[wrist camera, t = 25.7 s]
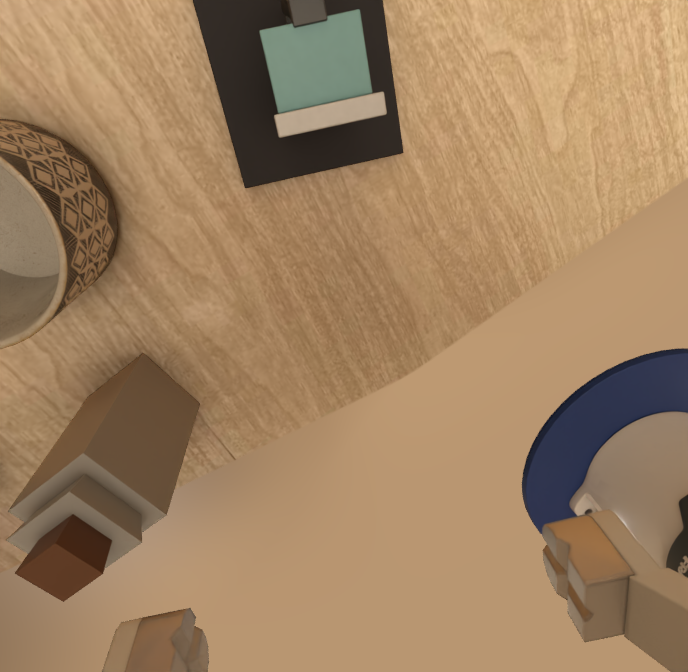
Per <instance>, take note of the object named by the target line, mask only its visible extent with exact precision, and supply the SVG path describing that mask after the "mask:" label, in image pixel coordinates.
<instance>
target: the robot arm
mask: <svg viewBox="0 0 688 672" xmlns="http://www.w3.org/2000/svg"><path fill="white" fill-rule="evenodd" d="M569 506H570V508H571V509H572V510H573V511H574V513H575V514H576V515H577V516H575V517H571V518H567V519H563V520H559V521H555V522H551V523H547V524H544V526H543V528H542V536H543V538H544V540H545V541H546V543H547V545H546V546H545V548H544V549H543V560H544V564H545V568H546V572H547V574H548V577H549V579H550V581H551V584H552V585H553V587H554V589H555V591H556V593H557V594H558V595H560V596H561V597H563V598H565V599H566V600H568V614H569V616H570V618H571V619H572V621H573V623H574V625H575V626H576V628H577V630H578V632H579V633H580V635H581V637H582V639H583V640H584V642H589V641H593V640H599V639H604V638H608V637H613V636H618V635H623V634H625V635H624V636H625V637H626V638H627V639H628V640H630V641H631V642H632V643H634V644H635V645H636V646H638V647H639V648H640V649H641V650H643V651H644V652H645V653H647V654H648V655H649V656H651V657H652V658H654V659H655V660H656V661H657V662H659V663H660V664H661V665H663V666H664V667H665V668H667V669H668V670H669V671H671V672H688V413H686V412H678V411H671V412H662V413H657V414H653V415H649V416H646V417H644V418H641V419H639V420H637V421H634V422H632V423H631V424H629V425H627V426H625V427H624V428H622V429H621V430H619V431H618V432H617V433H615V434H614V435H613V436H612V437H611V438H610V439H609V440H607V441H606V443H605V444H604V445H603V446H602V447H601V448H600V449H599V451H598V452H597V453H596V455H595V456H594V458H593V460H592V462H591V464H590V466H589V468H588V471H587V474H586V477H585V480H584V482H583V484H582V485H581V487H580V488H579V489H578V490H577V491H576V493H575V494H574V495H573V497H572V498H571V500H570V502H569ZM195 619H196V617H195V615H194V613H193V612H192V610H191V608H188V609H183V610H178V611H173V612H168V613H163V614H158V615H153V616H148V617H143V618H139V619H135V620H130V621H125V622H122V623H121V624H120V625H119V627H118V628H117V629H116V631H115V634H114V637H113V640H112V643H111V646H110V649H109V652H108V655H107V658H106V661H105V664H104V667H103V670H102V672H208V664H209V658H208V657H209V655H208V644H207V640H206V636H205V635H204V632H203V631H202V629H200V628H198V627H196V626H194V624H195Z"/></svg>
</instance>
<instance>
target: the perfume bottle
mask: <svg viewBox="0 0 688 672" xmlns="http://www.w3.org/2000/svg"><path fill="white" fill-rule="evenodd" d="M199 405H200V404H199V403H198V402H197V401H196V400H195V399H194V398H193V397H192V396H191V395H189V394H188V393H187V392H186V391H185V390H184V389H183V388H182V387H181V386H179V385H178V384H177V383H176V382H175V381H174V380H173V379H172V378H171V377H169V376H168V375H167V374H166V373H165V372H164V371H163V370H162V369H160V368H159V367H158V366H157V365H156V364H155V363H154V362H153V361H152V360H150V359H149V358H148V357H147V356H146V355H145V354H144V353H142V354H141V355H140V356H139V357H137V358H136V359H135V360H134V361H132V362H131V363H130V364H129V365H128V366H126V367H125V368H124V369H123V370H121V371H120V372H119V373H118V374H116V375H115V376H114V377H113V378H111V379H110V380H109V381H108V382H106V383H105V384H104V385H103V386H101V387H100V388H99V389H98V390H96V391H95V392H94V393H93V394H91V395H90V396H89V397H88V398H87V399H86V401H85V402H84V403H83V405H82V406H81V408H80V409H79V411H78V412H77V413H76V415H75V416H74V418H73V419H72V421H71V422H70V423H69V425H68V426H67V428H66V429H65V431H64V432H63V433H62V435H61V436H60V438H59V439H58V441H57V442H56V443H55V445H54V446H53V448H52V449H51V451H50V452H49V453H48V455H47V456H46V458H45V459H44V461H43V462H42V463H41V465H40V466H39V468H38V469H37V471H36V472H35V473H34V475H33V476H32V478H31V479H30V481H29V482H28V483H27V485H26V486H25V488H24V489H23V491H22V492H21V493H20V495H19V496H18V498H17V499H16V501H15V502H14V503H13V505H12V506H11V508H10V509H9V511H8V512H9V513H11V514H13V515H14V516H16V517H17V518H19V519H20V520H22V521H24V523H23V524H22V525H21V526H20V527H19V528H18V529H17V530H16V531H15V532H14V533H13V534H12V535H11V536H10V537H9V538H8V539H7V540H6V541H8V542H9V543H11V544H13V545H14V546H16V547H18V548H19V549H21V550H22V551H24V552H26V553H27V554H28V555H27V557H26V558H25V559H24V561H23V562H22V564H21V565H20V567H19V568H18V569H17V571H16V572H15V574H17V575H18V576H20V577H22V578H24V579H25V580H27V581H29V582H31V583H32V584H34V585H36V586H38V587H39V588H41V589H43V590H44V591H46V592H48V593H49V594H51V595H53V596H54V597H56V598H58V599H60V600H61V601H63V602H64V601H65V600H66V599H68V598H69V597H71V596H72V595H74V594H75V593H76V592H78V591H79V590H81V589H82V588H83V587H85V586H86V585H88V584H89V583H91V582H92V581H93V580H95V579H96V578H97V577H99V576H100V575H102V574H103V571H104V569H105V568H106V567H108V566H109V565H111V564H112V563H113V562H115V561H116V560H118V559H119V558H120V557H122V556H123V555H125V554H126V553H128V552H129V551H130V550H132V549H133V548H135V547H136V546H137V545H139V544H140V543H142V532H144V531H145V530H146V529H148V528H149V527H150V526H152V525H153V524H155V523H156V522H158V521H159V520H160V519H162V518H163V517H165V516H166V515H167V512H168V508H169V505H170V502H171V498H172V495H173V492H174V488H175V485H176V482H177V478H178V475H179V472H180V468H181V465H182V462H183V458H184V455H185V452H186V448H187V445H188V442H189V438H190V435H191V432H192V428H193V425H194V422H195V418H196V415H197V412H198V408H199Z"/></svg>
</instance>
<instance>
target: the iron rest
mask: <svg viewBox="0 0 688 672" xmlns="http://www.w3.org/2000/svg"><path fill="white" fill-rule="evenodd" d="M324 2H325V8H326V13H327V16H329V15H334V14H338V13H343V12H348V11H352V10H357V9H359V10H360V14H361V21H362V27H363V34H364V40H365V47H366V54H367V60H368V67H369V73H370V80H371V86H372V94H373V93H377V92H384V97H385V104H386V111H387V113H386V115H382V116H378V117H373V118H369V119H364V120H359V121H355V122H350V123H346V124H341V125H336V126H332V127H327V128H323V129H318V130H314V131H309V132H304V133H300V134H295V135H291V136H286V137H281V138H280V137H279V136H278V132H277V128H276V123H275V119H274V115H276V114H279V113H278V110H277V106H276V101H275V97H274V93H273V88H272V84H271V80H270V75H269V71H268V67H267V62H266V58H265V54H264V49H263V45H262V41H261V37H260V30H264V29H268V28H273V27H278V26H282V25H286V21H285V16H284V14H283V12H282V8H281V0H193V3H194V6H195V10H196V13H197V17H198V21H199V24H200V28H201V31H202V35H203V39H204V42H205V46H206V49H207V53H208V56H209V60H210V64H211V67H212V71H213V74H214V78H215V82H216V85H217V89H218V92H219V96H220V99H221V103H222V107H223V110H224V114H225V117H226V121H227V125H228V128H229V132H230V135H231V139H232V143H233V146H234V150H235V153H236V157H237V160H238V164H239V168H240V171H241V175H242V178H243V182H244V186H245V188H249V187H253V186H258V185H262V184H267V183H271V182H276V181H280V180H285V179H289V178H293V177H298V176H302V175H307V174H311V173H316V172H320V171H325V170H329V169H334V168H338V167H343V166H347V165H352V164H356V163H361V162H365V161H370V160H374V159H379V158H383V157H388V156H392V155H397V154H401V153H403V147H402V140H401V132H400V125H399V118H398V111H397V103H396V96H395V89H394V81H393V74H392V67H391V59H390V52H389V45H388V37H387V30H386V23H385V15H384V8H383V1H382V0H324Z"/></svg>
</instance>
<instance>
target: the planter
mask: <svg viewBox="0 0 688 672" xmlns="http://www.w3.org/2000/svg"><path fill="white" fill-rule="evenodd" d="M116 241H117V219H116V213H115V209H114V205H113V202H112V199H111V196H110V194H109V192H108V190H107V188H106V186H105V184H104V182H103V181H102V179H101V177H100V176H99V174H98V173H97V172H96V170H95V169H94V168H93V166H92V165H91V164H90V163H89V162H88V161H87V160H86V159H85V158H84V157H83V156H82V155H81V154H80V153H79V152H78V151H77V150H76V149H75V148H73V147H72V146H71V145H69V144H68V143H67V142H65V141H64V140H62V139H61V138H59V137H57V136H56V135H54V134H52V133H50V132H48V131H46V130H44V129H41V128H39V127H36V126H34V125H30V124H27V123H23V122H19V121H14V120H5V119H0V349H2V348H6V347H9V346H12V345H15V344H18V343H20V342H22V341H24V340H26V339H28V338H30V337H31V336H33V335H34V334H36V333H37V332H38V331H39V330H41V329H42V328H43V327H44V326H45V325H46V324H47V323H49V322H50V321H51V320H52V319H53V318H54V317H55V316H57V315H58V314H59V313H60V312H61V311H62V310H63V309H64V308H66V307H67V306H68V305H69V304H70V303H71V302H72V301H73V300H75V299H76V298H77V297H78V296H79V295H80V294H81V293H82V292H84V291H85V290H86V289H87V288H88V287H89V286H90V285H91V284H93V283H94V282H95V281H96V280H97V279H98V278H99V277H100V276H101V275H102V273H103V272H104V271H105V269H106V268H107V266H108V265H109V263H110V261H111V259H112V256H113V253H114V250H115V246H116Z"/></svg>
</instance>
